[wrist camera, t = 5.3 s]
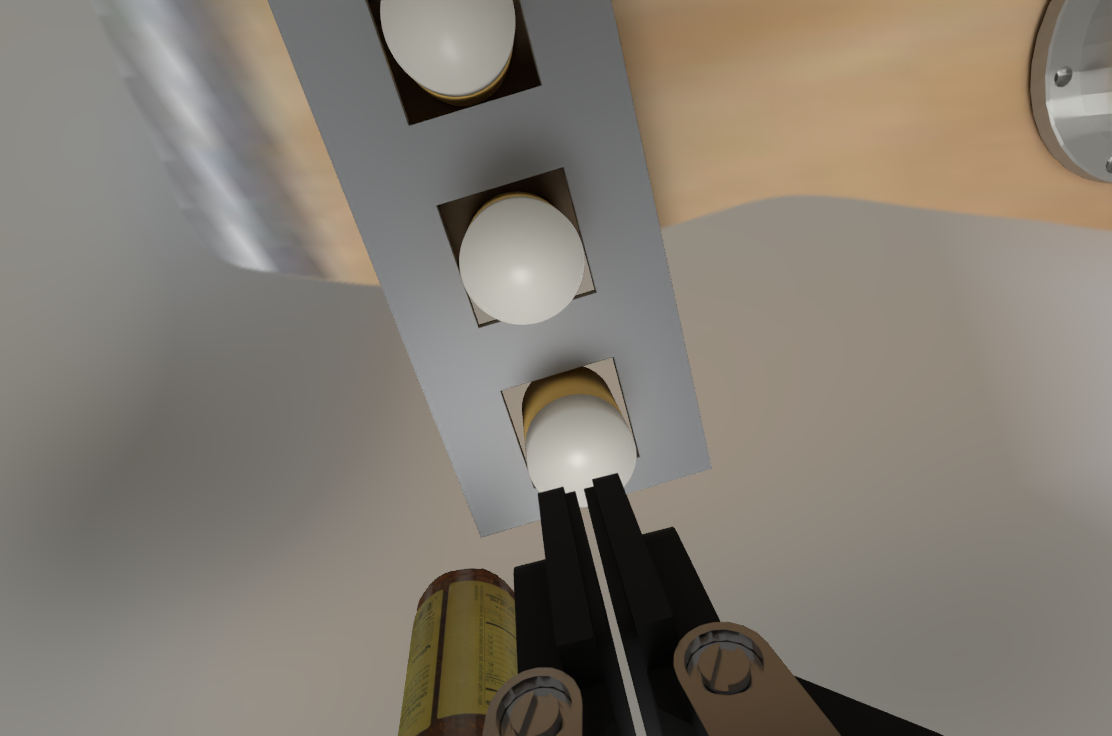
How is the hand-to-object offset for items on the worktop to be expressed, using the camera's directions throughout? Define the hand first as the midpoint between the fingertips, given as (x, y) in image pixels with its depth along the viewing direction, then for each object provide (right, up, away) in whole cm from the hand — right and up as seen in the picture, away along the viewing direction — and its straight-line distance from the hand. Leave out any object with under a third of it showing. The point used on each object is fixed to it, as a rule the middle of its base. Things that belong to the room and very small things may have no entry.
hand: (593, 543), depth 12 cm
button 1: (-5, +17, +13) cm, 23 cm away
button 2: (0, +2, +18) cm, 18 cm away
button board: (-3, +10, +17) cm, 19 cm away
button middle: (-2, +9, +15) cm, 18 cm away
